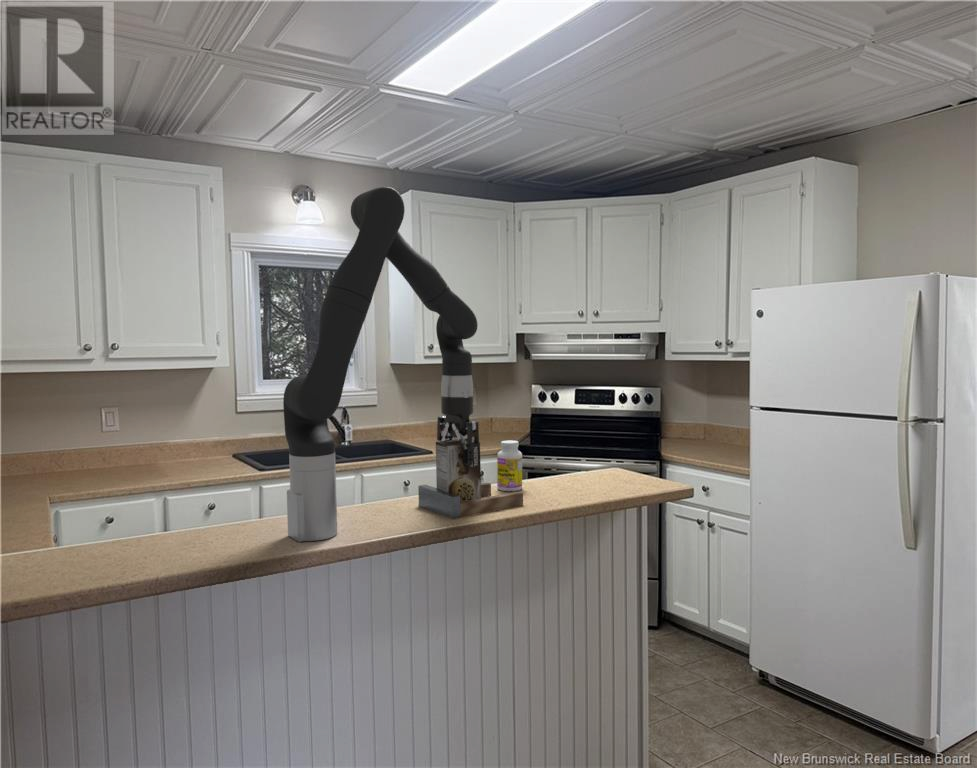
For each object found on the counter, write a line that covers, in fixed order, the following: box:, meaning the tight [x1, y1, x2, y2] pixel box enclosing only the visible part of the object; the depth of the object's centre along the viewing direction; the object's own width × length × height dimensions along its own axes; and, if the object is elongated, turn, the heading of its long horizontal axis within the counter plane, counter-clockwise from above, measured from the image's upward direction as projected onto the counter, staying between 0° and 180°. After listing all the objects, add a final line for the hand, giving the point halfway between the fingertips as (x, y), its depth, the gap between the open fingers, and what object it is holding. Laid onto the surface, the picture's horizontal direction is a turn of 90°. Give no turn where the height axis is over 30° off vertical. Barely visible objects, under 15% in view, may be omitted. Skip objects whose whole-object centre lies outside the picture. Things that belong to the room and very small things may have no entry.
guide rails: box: [460, 482, 524, 518], centre depth 166 cm, size 18×15×3 cm
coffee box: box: [435, 438, 482, 502], centre depth 163 cm, size 9×6×16 cm
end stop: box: [417, 484, 462, 520], centre depth 160 cm, size 2×15×5 cm, turn 37°
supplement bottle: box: [496, 439, 523, 492], centre depth 183 cm, size 7×7×13 cm
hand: (457, 462), depth 163 cm, fingers open, 8 cm apart
